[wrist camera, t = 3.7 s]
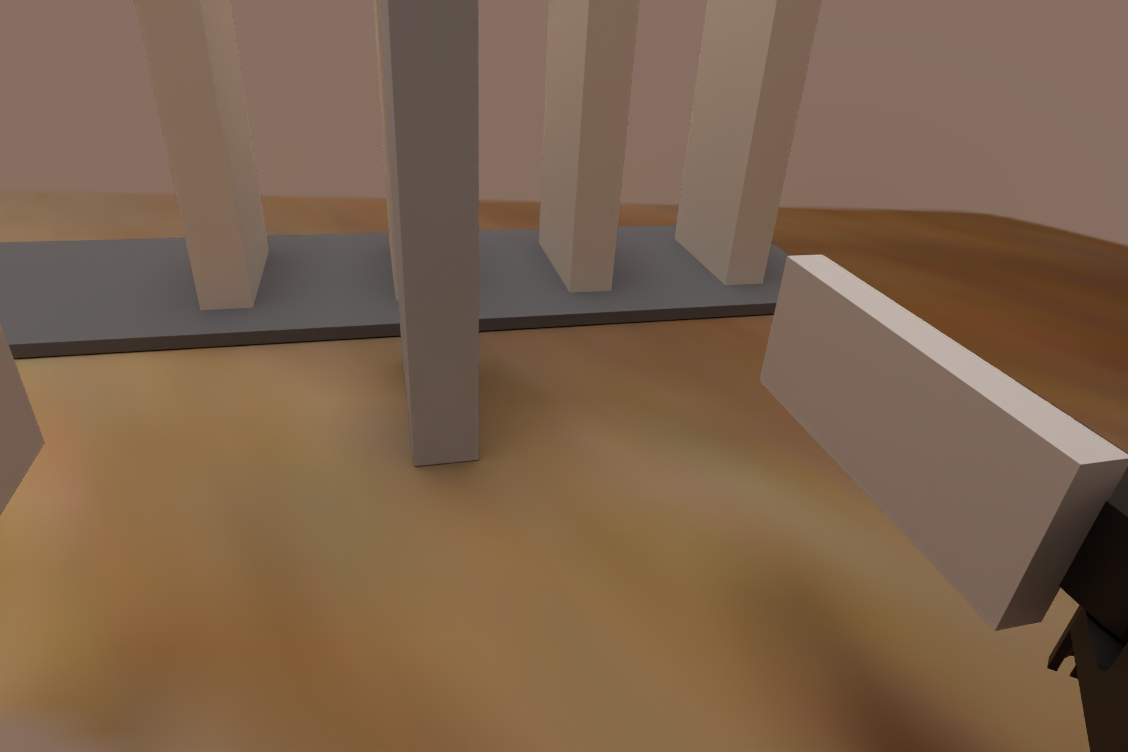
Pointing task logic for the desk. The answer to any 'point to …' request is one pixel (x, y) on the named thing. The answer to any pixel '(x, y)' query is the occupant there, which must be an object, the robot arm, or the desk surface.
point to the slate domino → (436, 217)
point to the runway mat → (335, 291)
